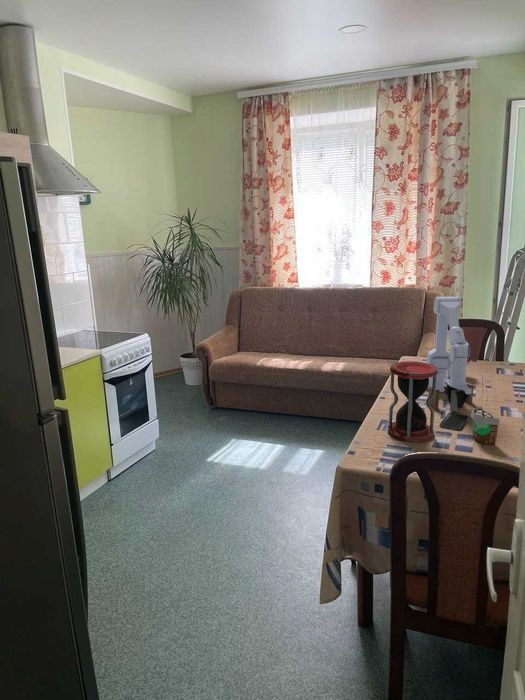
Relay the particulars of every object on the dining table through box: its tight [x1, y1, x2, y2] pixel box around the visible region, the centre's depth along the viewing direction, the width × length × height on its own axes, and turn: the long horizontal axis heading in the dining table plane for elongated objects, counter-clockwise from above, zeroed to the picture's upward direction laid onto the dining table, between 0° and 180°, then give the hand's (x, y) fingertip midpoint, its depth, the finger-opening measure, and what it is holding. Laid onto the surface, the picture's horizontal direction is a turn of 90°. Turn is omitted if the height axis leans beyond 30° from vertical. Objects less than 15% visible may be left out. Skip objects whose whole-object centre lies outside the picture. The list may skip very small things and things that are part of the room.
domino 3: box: [465, 381, 475, 404], centre depth 215 cm, size 2×5×8 cm, turn 17°
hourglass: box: [387, 360, 438, 443], centre depth 183 cm, size 16×16×25 cm
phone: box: [439, 412, 470, 432], centre depth 195 cm, size 8×1×15 cm
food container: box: [470, 406, 500, 446], centre depth 178 cm, size 12×6×10 cm, turn 5°
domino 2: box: [449, 390, 462, 413], centre depth 206 cm, size 2×5×8 cm, turn 17°
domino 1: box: [427, 386, 440, 409], centre depth 211 cm, size 2×5×8 cm, turn 18°
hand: (455, 405), depth 206 cm, fingers closed on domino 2, 5 cm apart
